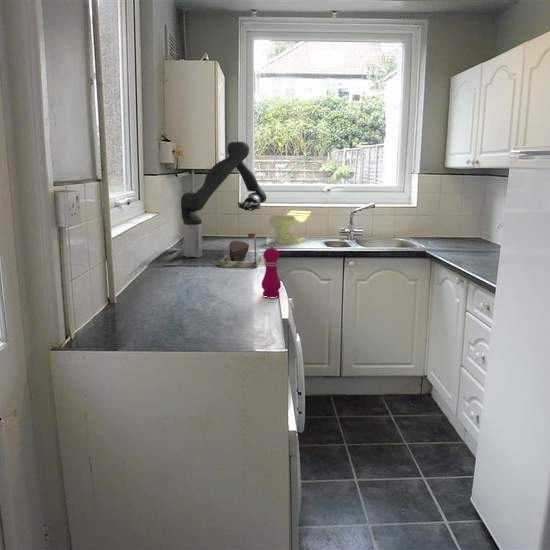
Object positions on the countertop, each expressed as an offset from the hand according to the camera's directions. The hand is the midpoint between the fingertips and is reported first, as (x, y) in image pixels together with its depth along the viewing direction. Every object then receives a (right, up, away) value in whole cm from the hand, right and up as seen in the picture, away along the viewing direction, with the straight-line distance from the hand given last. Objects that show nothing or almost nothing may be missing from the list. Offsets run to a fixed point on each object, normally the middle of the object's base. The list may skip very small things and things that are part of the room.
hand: (245, 208), depth 270 cm
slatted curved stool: (+25, -14, +52) cm, 59 cm away
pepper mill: (+14, -43, -75) cm, 88 cm away
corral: (-1, -29, -15) cm, 33 cm away
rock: (-3, -29, -13) cm, 32 cm away
